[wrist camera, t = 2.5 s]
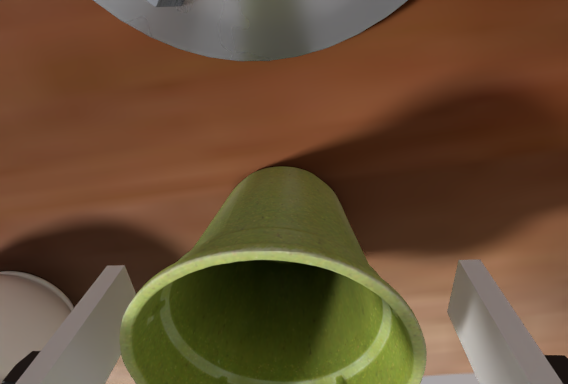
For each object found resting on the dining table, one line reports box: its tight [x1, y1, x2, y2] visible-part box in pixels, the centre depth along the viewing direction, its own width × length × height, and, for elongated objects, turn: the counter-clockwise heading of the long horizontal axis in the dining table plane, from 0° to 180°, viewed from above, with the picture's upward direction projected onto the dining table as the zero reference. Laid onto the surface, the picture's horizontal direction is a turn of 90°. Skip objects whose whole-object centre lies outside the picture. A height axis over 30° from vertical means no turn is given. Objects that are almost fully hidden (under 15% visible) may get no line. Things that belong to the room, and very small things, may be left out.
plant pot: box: [119, 166, 426, 384], centre depth 14 cm, size 9×9×9 cm
